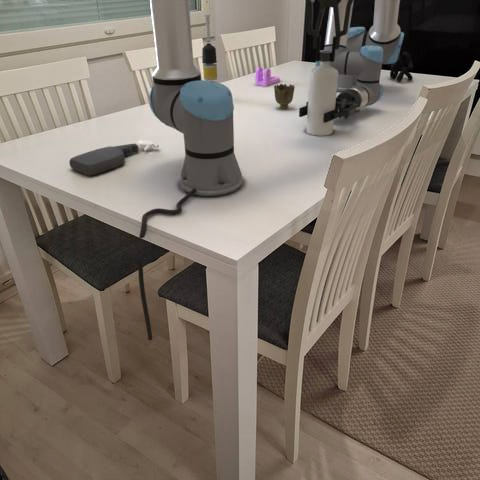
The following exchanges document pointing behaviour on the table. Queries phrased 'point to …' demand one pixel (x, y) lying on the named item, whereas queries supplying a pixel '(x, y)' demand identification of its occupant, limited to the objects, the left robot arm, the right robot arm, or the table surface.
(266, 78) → the bracket
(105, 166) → the spray bottle
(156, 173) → the table surface
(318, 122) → the bottle
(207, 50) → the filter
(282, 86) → the cup
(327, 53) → the cap
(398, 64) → the squiggle
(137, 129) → the table surface
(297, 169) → the table surface
